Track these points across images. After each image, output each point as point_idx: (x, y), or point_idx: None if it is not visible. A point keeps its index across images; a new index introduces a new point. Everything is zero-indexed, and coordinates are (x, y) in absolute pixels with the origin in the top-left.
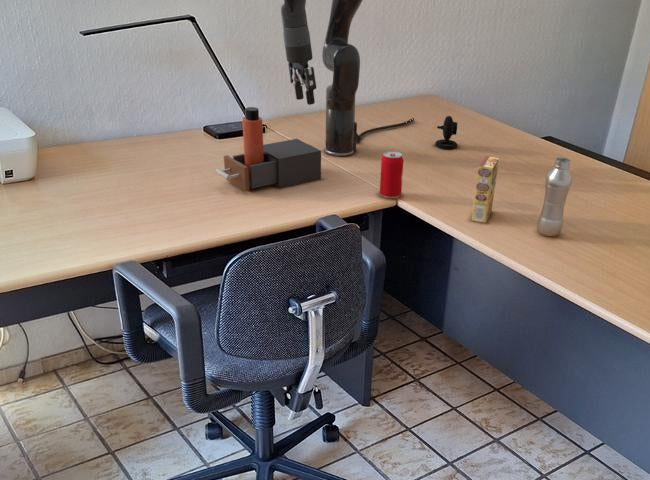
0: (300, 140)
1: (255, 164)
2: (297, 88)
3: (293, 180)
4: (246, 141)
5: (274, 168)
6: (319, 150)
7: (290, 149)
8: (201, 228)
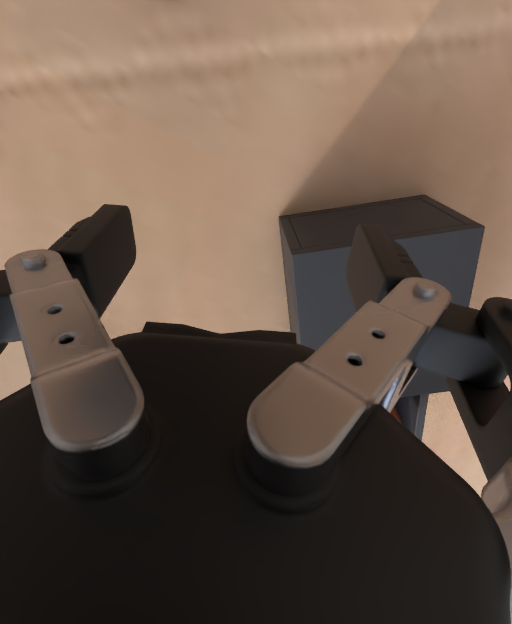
0: (321, 251)
1: (416, 433)
2: (101, 293)
3: None
4: None
5: None
6: (478, 232)
7: None
8: (478, 491)
